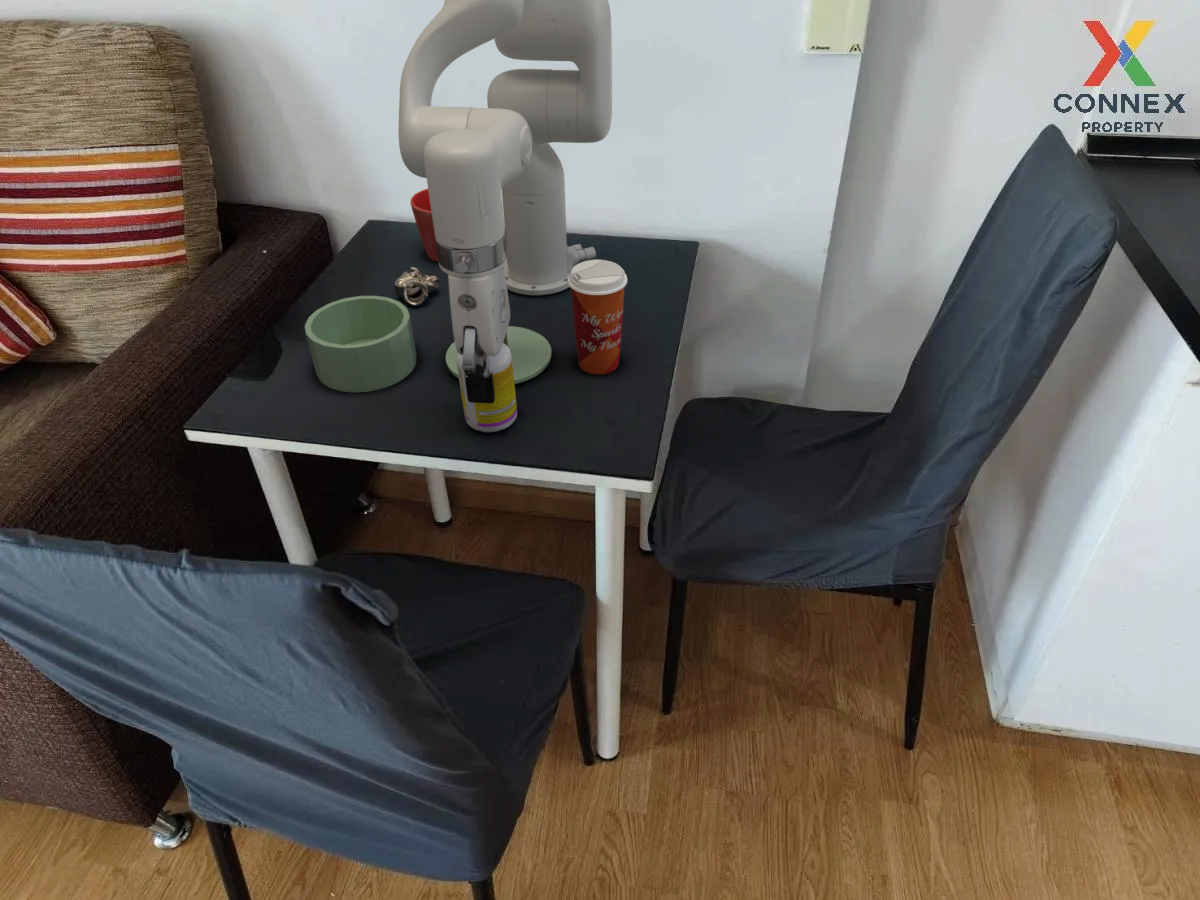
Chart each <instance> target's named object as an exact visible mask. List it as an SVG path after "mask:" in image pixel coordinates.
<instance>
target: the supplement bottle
mask: <svg viewBox="0 0 1200 900" xmlns="http://www.w3.org/2000/svg"><path fill="white" fill-rule="evenodd" d="M477 350H483V349H482V347H481V346H480V345H477ZM456 361H457V368H458V375H459V378H458V380H459V387H460V395H461V401H462V409H463V414H464V419H465V423H467V425H468V426H469V427H470V428H472V429H473V430H476V431H477V432H481V433H482V432H483V433H495V432H501V431H502V430H505V429H507V428H510V426H511V425H513V424H514V423H515V422H516V420H517V417H518V407H517V396H516V386H515V385H516V384H514V375H513V365H512V355H511V351H510V349H509V348H508V346H507V345H506V344H504V343H503V345H502V348H501V350H500V352H499V353H498V354H497V355H496V356H489V373H492V375H493V384H494V393H495V401H494V403H471V402H469V401H468V398H467V390H466V383H465V377H464V370H463V368H462V363H463V355H460V354H459V353H457V357H456ZM476 362H477V364H480V365H481V366H482V367H483V356H476Z"/></svg>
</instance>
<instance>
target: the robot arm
mask: <svg viewBox="0 0 1200 900" xmlns="http://www.w3.org/2000/svg"><path fill="white" fill-rule="evenodd" d="M611 15H612V14H611V7H610V2H609V0H444V3H443V6H442V8H441V9H440V10H439V11H438V13H437V14H436V15H435V16H434V17H433V18H432V19H431V20H430V22H429V23H427V25H426V26H425V27H424V29H423V30H422V31H421V33H420V34H419V36H418V38H416V41H415V42H414V44H413V46H412V48H411V49H410V51H409V54H408V56H407V57H406V60H405V62H404V66H403V69H402V72H401V75H400V76H401V77H400V82H399V83H400V84H399V103H398V104H399V105H398V131H397V132H398V146H399V153H400V157H401V159H402V162H403V164H404V166H405V167H406V168H407V170H408V171H409V172H410V173H412V174H413V175H415V176H417V177H418V178H423V179H426V184H427V189H428V191H429V198H430V205H431V212H432V219H433V226H434V233H435V239H436V246H437V253H438V260H439V262H438V267H439V269H440V270H441V271H442V272H443V273H445V274H446V275H447V278H448V279H447V280H448V295H449V296H448V297H449V305H450V317H451V326H452V334H453V340H454V341H455V346H456V350H457V352H458V353H459V354H460V355H463V363H462V368H463V370H464V377H465V383H466V390H467V398H468V401H469V402H471V403H494V401H495V393H494V384H493V375H492V373H489V356H496V355H497V354H498V353H499V352H500V350H501V348H502V345H503V342H504V338H505V335H506V332H507V329H508V326H510V321H511V308H510V306H511V305H510V300H509V293H508V291H510V292H513V293H515V294H518V295H519V294H520V295H524V296H548V295H552V294H553V295H554V294H557V293H560V292H562V291H565V290H567V289H569V288H571V287H570V286H569V284H568V278H569V276H570V275H571V270H572V269H573V267H574V266H576V265H577V264H579V263H581V262H584V261H589V260H596V258H597V253H596V252H597V251H596V249H595V247H594V246H589V247H585V248H583V247H582V245H581V243H578V244H572V245H571V246H568V242H567V241H568V239H567V236H568V235H567V211H566V210H567V209H566V187H565V186H566V183H565V182H566V181H565V171H564V165H563V164H562V161H561V159H560V158H559V156H558V154H557V153H556V151H555V150H554V148H553V147H552V146H551V145H550V143H561V144H562V143H565V144H567V143H568V144H569V143H570V144H593V143H598V142H600V141H603V140H605V138H606V137H607V136H608V134H609V132H610V128H611V126H612V125H611V124H612V119H613V43H612V41H613V38H612V37H613V33H612V31H613V30H612V16H611ZM492 40H494V44H495V46H496V48H497V50H498V52H499V53H500V54H501V55H502V56H504V57H505V58H508V59H511V60H517V61H536V62H537V61H538V62H539V61H540V62H545V61H546V62H571V63H573V64H574V65H575V66H576V67H577V70H576V69H574V70H573V69H551V68H517V69H510V70H506V71H505V70H504V71H502V72H500V73H498V74H497V75H496V76H494V77H493V79H492V80H491V81H490V84H489V86H488V89H487V94H486V102H487V107H474V106H473V107H471V106H470V107H469V106H432V98H433V93H434V90H435V86H436V84H437V82H438V80H439V78H440V77H441V75H442V74H443V72H444V71H445V70H446V69H447V68H448V67H450V65H451V64H452V63H453V62H455V61H456V60H457V59H459V58H460V57H462V56H463V55H465V54H467V53H469V52H470V51H472V50H474V49H476V48H478V47H480V46H482V45H484V44H486V43H488V42H490V41H492ZM454 341H453V342H454ZM477 345H480V346H481V347H482V349H483V350H477ZM476 356H483V367H482V366H481V365H480V364H477V362H476Z"/></svg>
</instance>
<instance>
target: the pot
mask: <svg viewBox="0 0 1200 900" xmlns="http://www.w3.org/2000/svg"><path fill="white" fill-rule="evenodd" d="M304 332H305V336H306V341H307V343H308V348H309V352H310V355H311V359H312V363H313V368H314V370H315V374H316V376H317V378H318V380H319V382H320V383H321V384H323V385H324V386H326V387H327V388H329V389H332V390H335V391H339V392H344V393H367V392H369V393H370V392H373V391H374V392H375V391H378V390H383V389H385V388H388V387H391V386H393V385H395V384H397V383H399V382H401V381H402V380H404V379H405V378H406V377H408V376H409V375H410V374H411V373H412V372H413V371H414V369H415V367H416V364H417V351H416V345H415V338H414V333H413V327H412V320H411V315H410V312H409V309H408V308H407V306H406V305H404V304H403V303H402V302H401V301H398V300H396V299H393V298H391V297H387V296H379V295H356V296H352V297H345V298H342V299H337V300H335V301H332V302H330V303H327V304H325V305H324V306H321V307H320V308H318V309H316V310H315V311H314V312H313V313H312V314H310V316H308V318H307V320H306V322H305V324H304Z"/></svg>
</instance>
